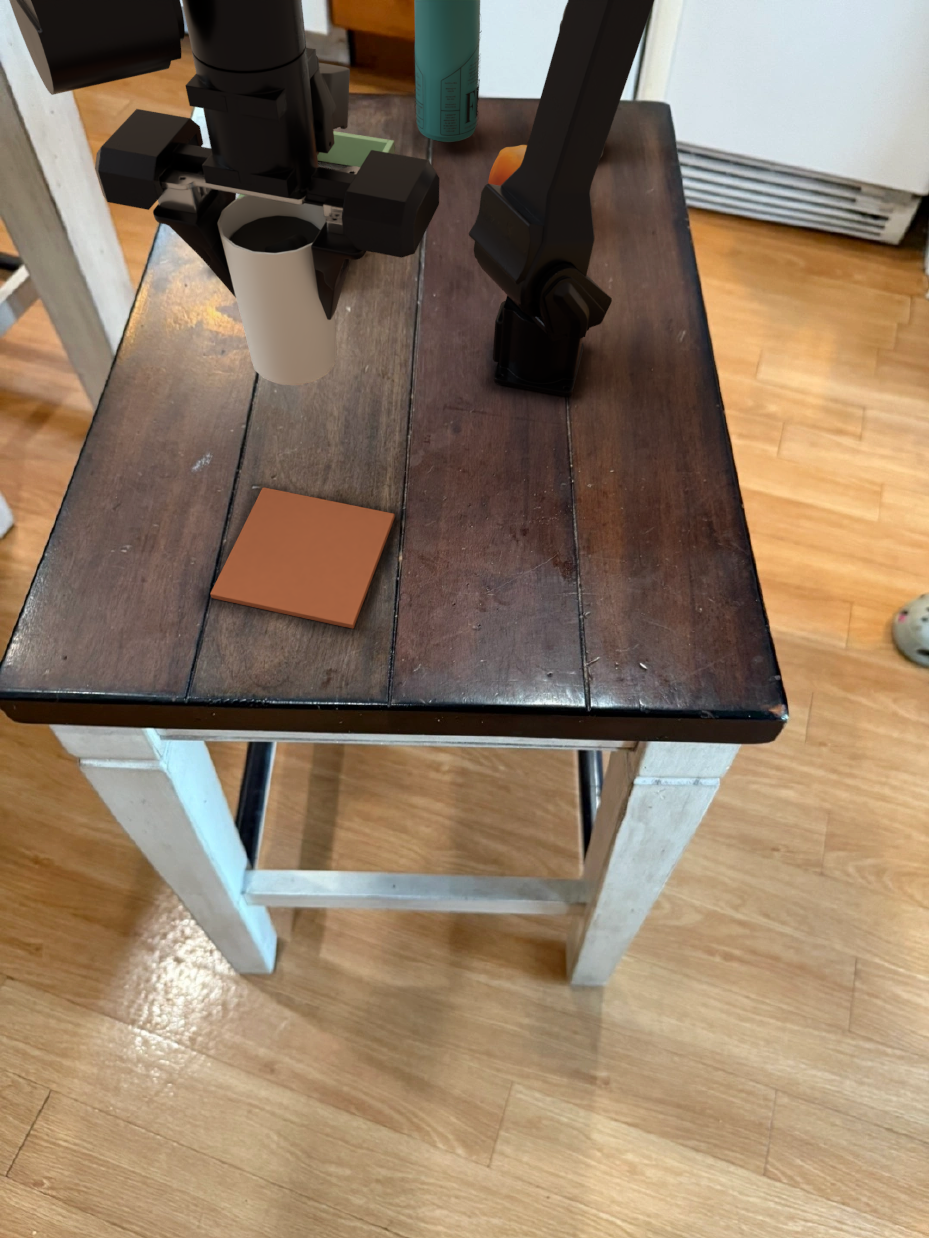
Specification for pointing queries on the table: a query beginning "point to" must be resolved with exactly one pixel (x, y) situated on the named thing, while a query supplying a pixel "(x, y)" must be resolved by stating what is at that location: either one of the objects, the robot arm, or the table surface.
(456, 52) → the beverage bottle
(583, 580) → the table surface
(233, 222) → the off-white tumbler
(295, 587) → the mat
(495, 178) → the fruit
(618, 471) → the table surface
